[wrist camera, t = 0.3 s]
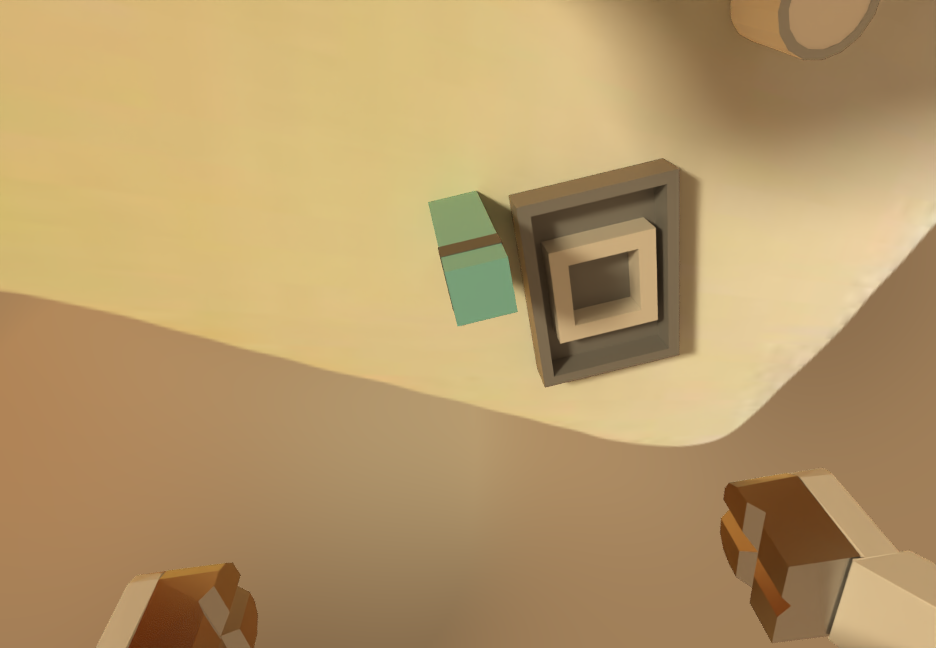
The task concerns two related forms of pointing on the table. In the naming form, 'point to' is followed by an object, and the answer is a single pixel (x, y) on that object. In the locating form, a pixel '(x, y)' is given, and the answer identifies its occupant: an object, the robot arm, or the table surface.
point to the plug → (472, 259)
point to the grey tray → (601, 270)
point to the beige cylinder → (803, 24)
